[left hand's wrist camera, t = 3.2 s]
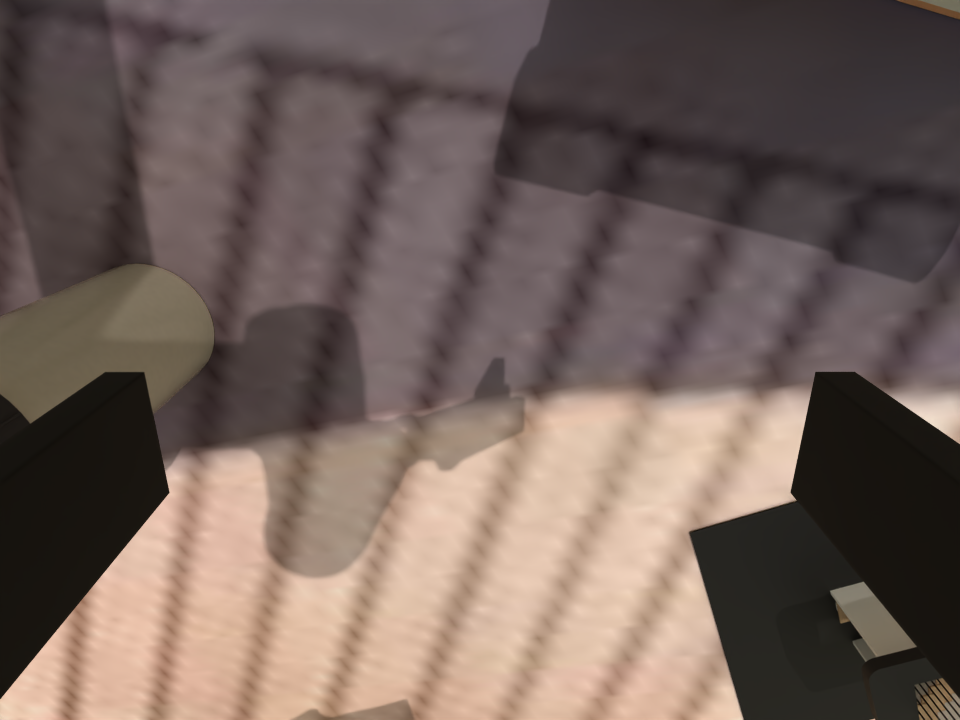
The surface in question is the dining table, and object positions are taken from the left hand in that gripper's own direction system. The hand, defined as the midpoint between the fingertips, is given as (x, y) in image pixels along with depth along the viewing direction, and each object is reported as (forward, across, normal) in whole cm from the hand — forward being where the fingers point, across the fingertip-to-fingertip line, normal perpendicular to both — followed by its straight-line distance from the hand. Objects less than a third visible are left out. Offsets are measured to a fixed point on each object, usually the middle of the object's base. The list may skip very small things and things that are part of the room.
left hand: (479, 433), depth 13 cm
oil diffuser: (+28, +32, -30) cm, 52 cm away
